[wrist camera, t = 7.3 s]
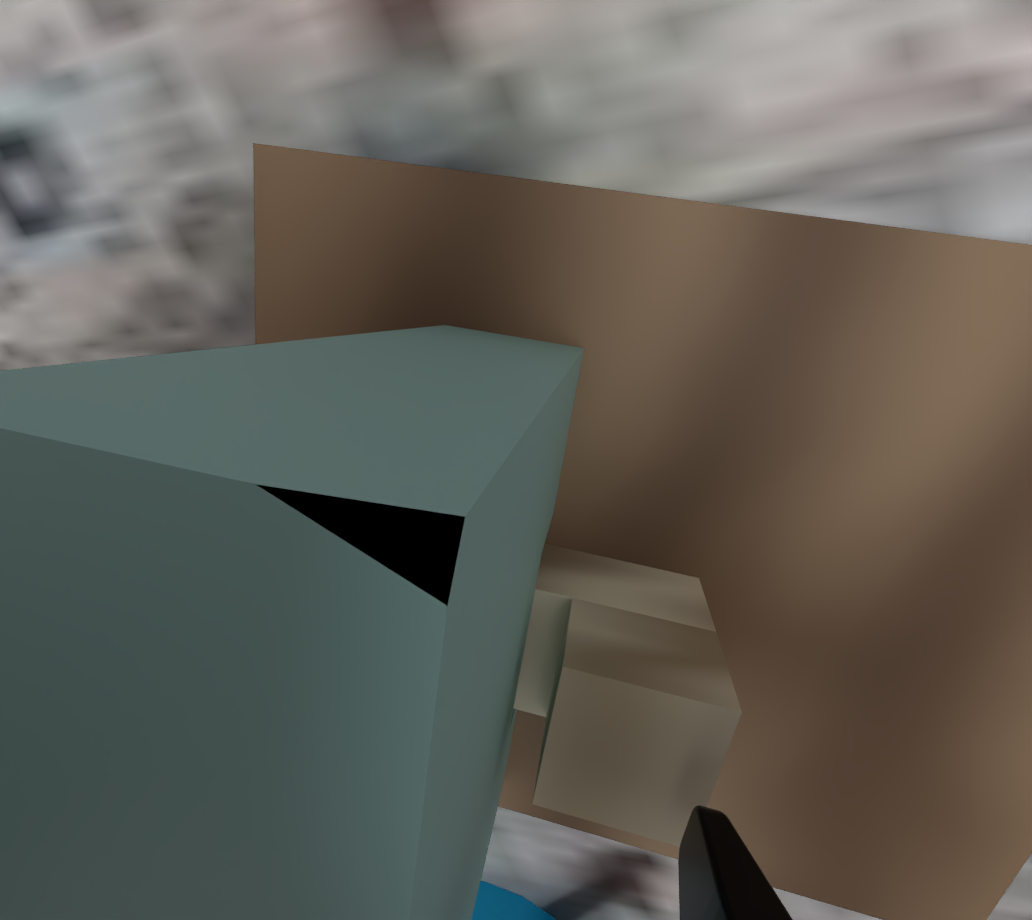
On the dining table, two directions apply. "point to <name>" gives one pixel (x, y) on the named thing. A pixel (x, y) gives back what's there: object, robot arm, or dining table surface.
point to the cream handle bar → (619, 689)
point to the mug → (504, 905)
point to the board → (752, 481)
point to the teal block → (268, 622)
